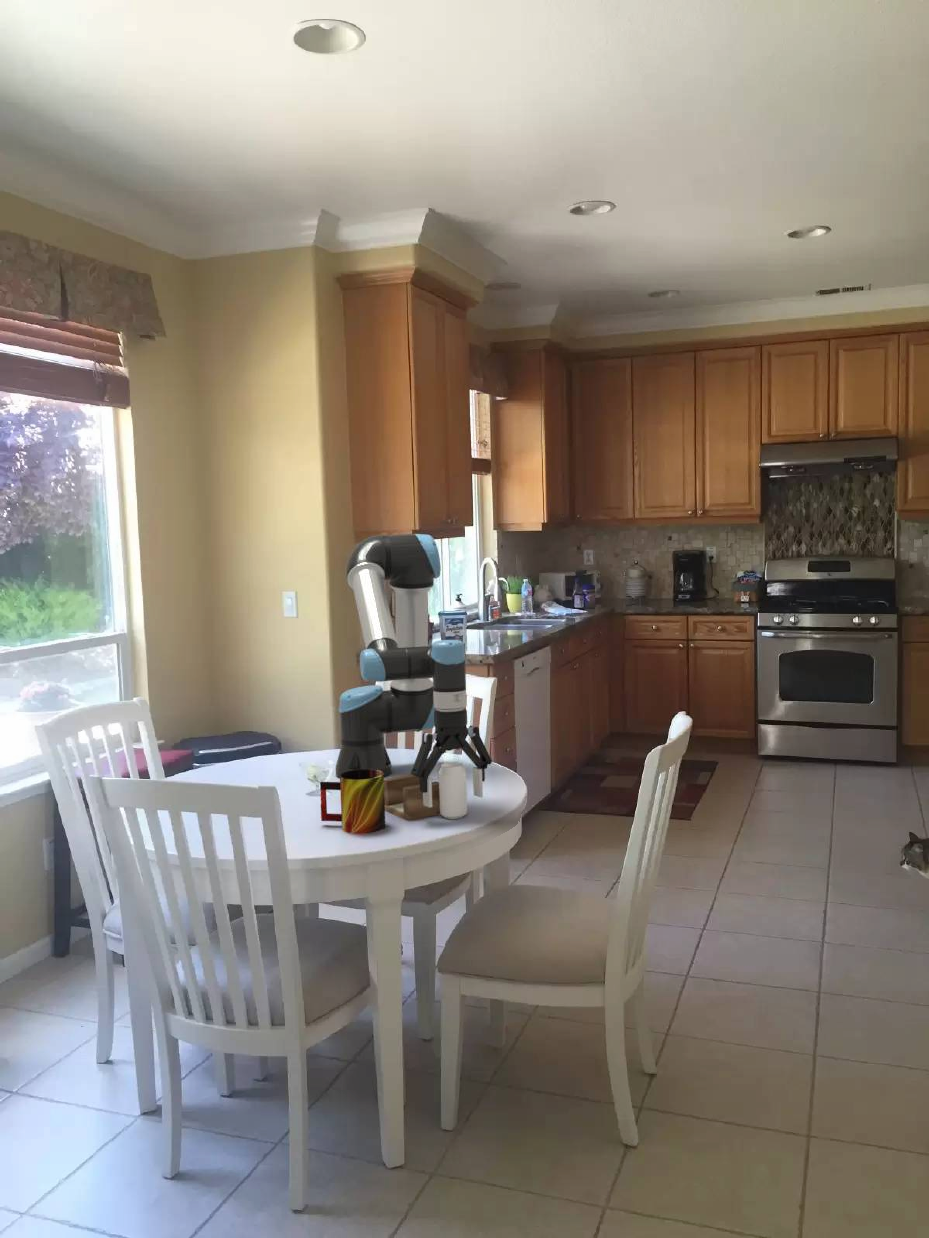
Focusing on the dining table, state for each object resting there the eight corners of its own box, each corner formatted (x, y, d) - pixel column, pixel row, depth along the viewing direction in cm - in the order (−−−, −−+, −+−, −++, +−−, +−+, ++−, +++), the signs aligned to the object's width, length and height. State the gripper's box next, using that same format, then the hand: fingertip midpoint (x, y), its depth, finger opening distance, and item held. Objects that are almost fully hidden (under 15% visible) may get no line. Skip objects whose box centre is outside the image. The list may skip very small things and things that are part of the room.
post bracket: (380, 808, 242) (379, 779, 241) (417, 801, 247) (416, 772, 247) (408, 820, 231) (406, 790, 231) (445, 812, 237) (444, 783, 236)
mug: (321, 824, 230) (319, 772, 229) (382, 819, 233) (380, 767, 232) (324, 837, 221) (322, 782, 220) (388, 831, 224) (386, 777, 222)
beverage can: (437, 819, 231) (435, 767, 230) (442, 812, 237) (441, 761, 236) (464, 820, 230) (463, 768, 229) (469, 812, 236) (467, 761, 235)
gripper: (410, 717, 221) (414, 813, 223) (504, 704, 235) (507, 795, 237) (393, 713, 228) (397, 806, 229) (486, 700, 241) (489, 789, 243)
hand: (453, 801), depth 233 cm, fingers open, 13 cm apart
